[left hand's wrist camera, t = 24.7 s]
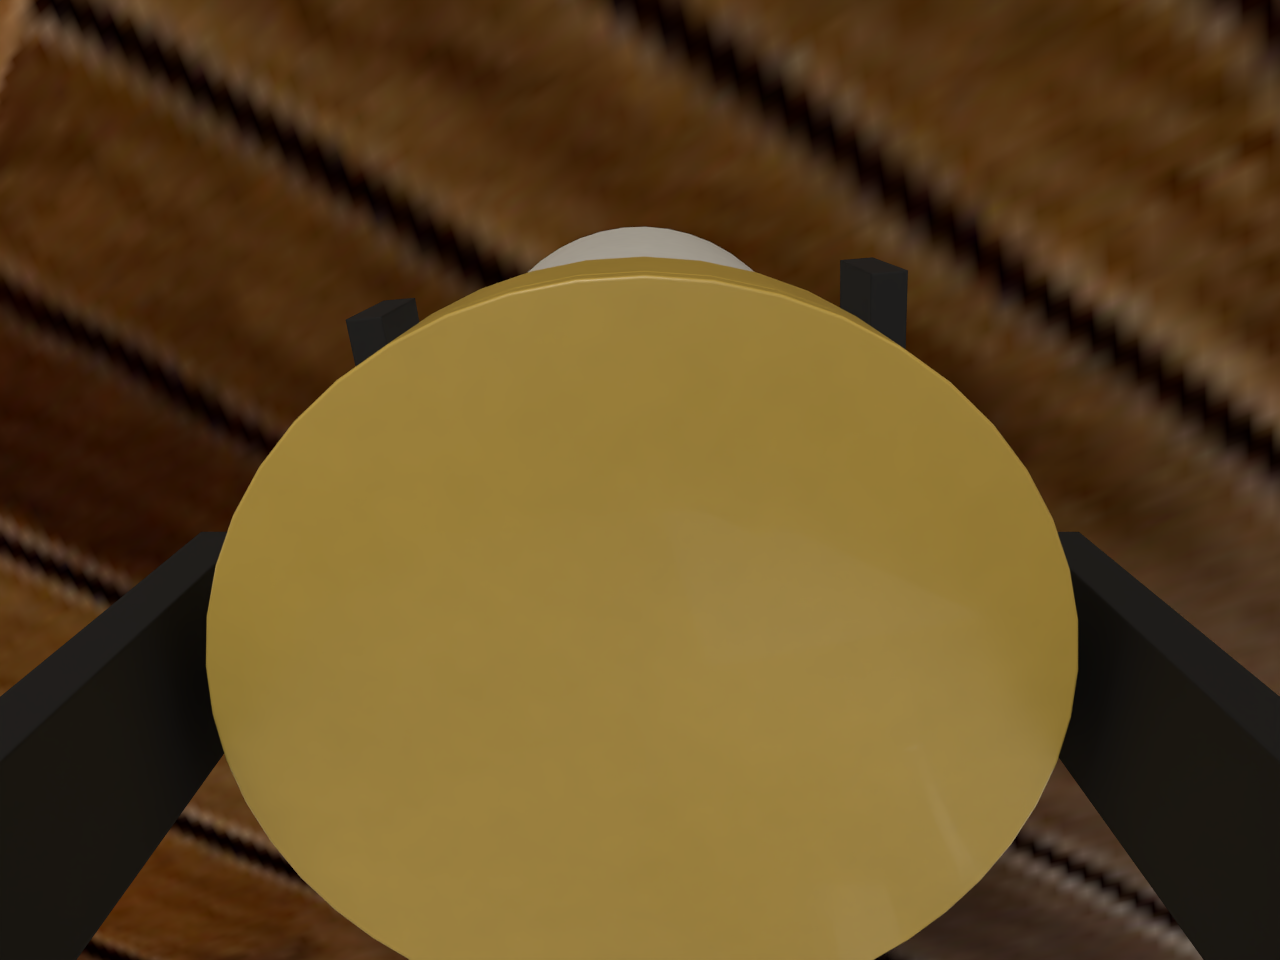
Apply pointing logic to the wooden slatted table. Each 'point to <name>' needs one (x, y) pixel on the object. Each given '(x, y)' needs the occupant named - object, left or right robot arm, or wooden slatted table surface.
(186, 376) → the wooden slatted table surface
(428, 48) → the wooden slatted table surface
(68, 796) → the left robot arm
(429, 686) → the lid
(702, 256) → the jar
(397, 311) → the right robot arm
